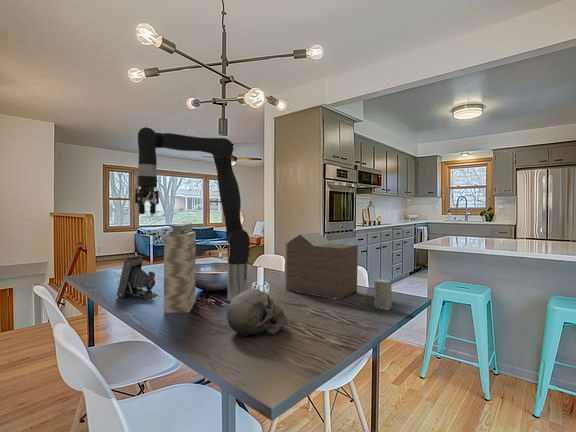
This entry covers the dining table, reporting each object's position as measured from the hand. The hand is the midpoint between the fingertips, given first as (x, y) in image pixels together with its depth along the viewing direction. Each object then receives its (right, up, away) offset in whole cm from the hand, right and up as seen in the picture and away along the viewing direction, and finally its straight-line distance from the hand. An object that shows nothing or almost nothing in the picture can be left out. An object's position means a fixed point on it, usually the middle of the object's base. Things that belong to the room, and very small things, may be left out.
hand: (147, 214), depth 136 cm
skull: (+50, -41, -26) cm, 69 cm away
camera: (-12, -40, +18) cm, 45 cm away
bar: (+13, -8, +6) cm, 17 cm away
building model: (+77, -41, +32) cm, 93 cm away
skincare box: (+101, -41, +3) cm, 110 cm away
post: (+14, -40, +1) cm, 42 cm away
